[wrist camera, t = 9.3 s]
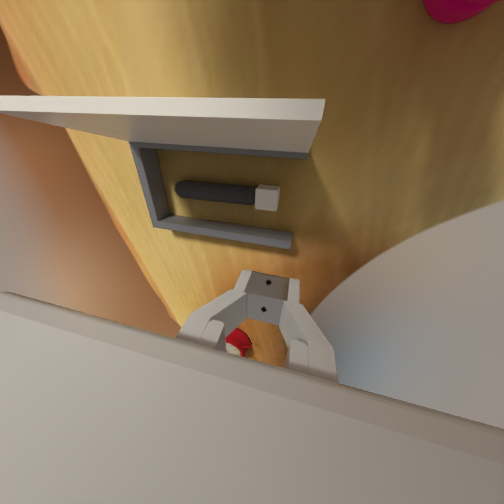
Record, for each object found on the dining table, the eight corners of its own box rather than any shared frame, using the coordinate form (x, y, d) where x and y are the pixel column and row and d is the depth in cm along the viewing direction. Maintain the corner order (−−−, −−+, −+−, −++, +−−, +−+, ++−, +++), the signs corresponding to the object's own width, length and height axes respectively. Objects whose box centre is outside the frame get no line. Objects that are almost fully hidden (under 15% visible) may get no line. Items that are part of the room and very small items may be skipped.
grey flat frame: (144, 135, 24) (127, 135, 22) (309, 145, 20) (309, 146, 18) (165, 220, 31) (153, 227, 29) (291, 239, 27) (290, 249, 25)
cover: (128, 141, 22) (126, 133, 22) (308, 152, 18) (310, 143, 18) (-13, 110, 12) (-19, 95, 12) (321, 120, 8) (325, 98, 8)
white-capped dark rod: (183, 195, 28) (172, 200, 26) (179, 177, 26) (168, 181, 24) (278, 205, 25) (275, 211, 23) (280, 186, 24) (278, 190, 22)
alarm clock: (249, 368, 45) (190, 364, 45) (250, 344, 50) (197, 340, 50) (253, 346, 39) (184, 342, 39) (253, 321, 45) (193, 317, 44)
